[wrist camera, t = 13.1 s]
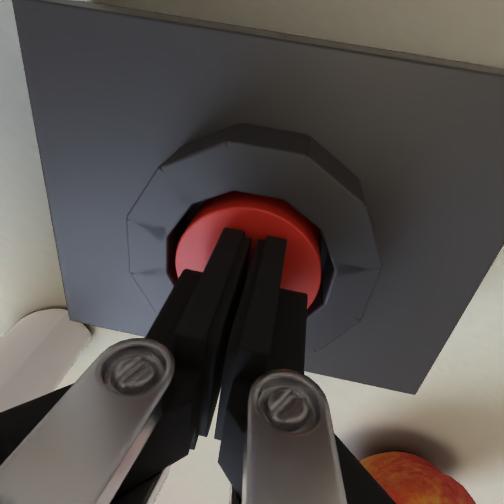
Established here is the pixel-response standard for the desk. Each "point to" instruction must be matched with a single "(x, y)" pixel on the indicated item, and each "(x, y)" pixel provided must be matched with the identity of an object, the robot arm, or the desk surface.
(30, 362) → the eye dropper bottle
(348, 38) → the desk surface
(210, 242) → the power button
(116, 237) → the control block
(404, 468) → the fruit
